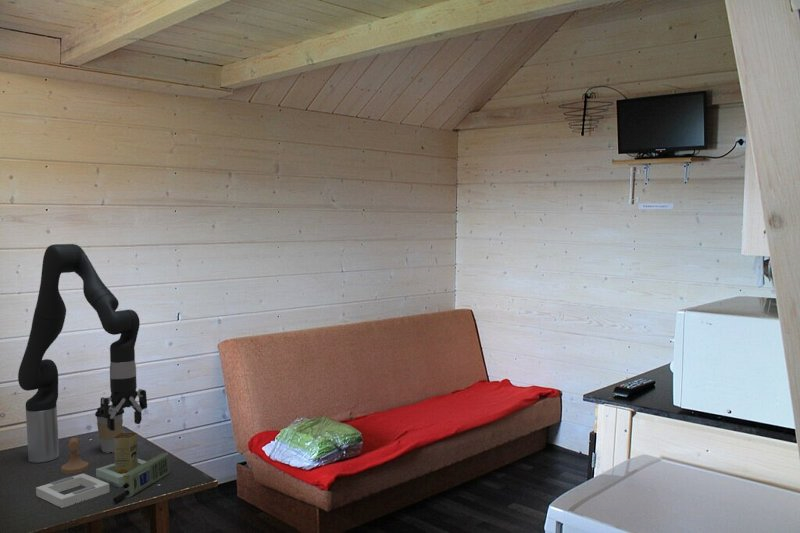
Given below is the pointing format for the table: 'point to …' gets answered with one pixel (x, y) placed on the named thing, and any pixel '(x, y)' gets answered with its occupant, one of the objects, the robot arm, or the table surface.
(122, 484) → the tray
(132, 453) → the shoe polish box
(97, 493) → the holder
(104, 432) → the coffee cup
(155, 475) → the handheld radio
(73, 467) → the door knob
